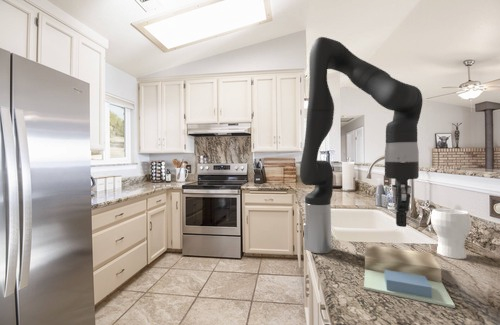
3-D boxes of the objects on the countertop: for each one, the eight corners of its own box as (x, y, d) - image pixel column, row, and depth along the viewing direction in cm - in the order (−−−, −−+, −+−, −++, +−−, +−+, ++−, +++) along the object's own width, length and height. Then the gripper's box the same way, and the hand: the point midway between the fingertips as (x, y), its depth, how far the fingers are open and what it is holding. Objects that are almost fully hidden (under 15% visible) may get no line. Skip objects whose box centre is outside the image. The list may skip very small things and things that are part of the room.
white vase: (432, 247, 88) (431, 207, 89) (470, 253, 82) (469, 210, 82) (431, 255, 80) (430, 211, 80) (474, 263, 74) (472, 215, 74)
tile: (384, 269, 64) (384, 279, 64) (386, 279, 58) (386, 289, 58) (425, 276, 60) (425, 286, 60) (431, 287, 54) (431, 298, 54)
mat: (363, 289, 60) (363, 286, 60) (365, 271, 70) (365, 269, 70) (455, 308, 51) (455, 305, 51) (442, 284, 61) (441, 282, 61)
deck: (365, 270, 70) (364, 257, 70) (366, 256, 81) (365, 244, 81) (441, 284, 62) (441, 268, 62) (431, 266, 72) (431, 253, 72)
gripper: (383, 160, 70) (383, 218, 70) (386, 160, 58) (386, 230, 58) (414, 160, 66) (414, 221, 66) (423, 160, 54) (423, 235, 55)
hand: (401, 225), depth 62 cm, fingers closed
